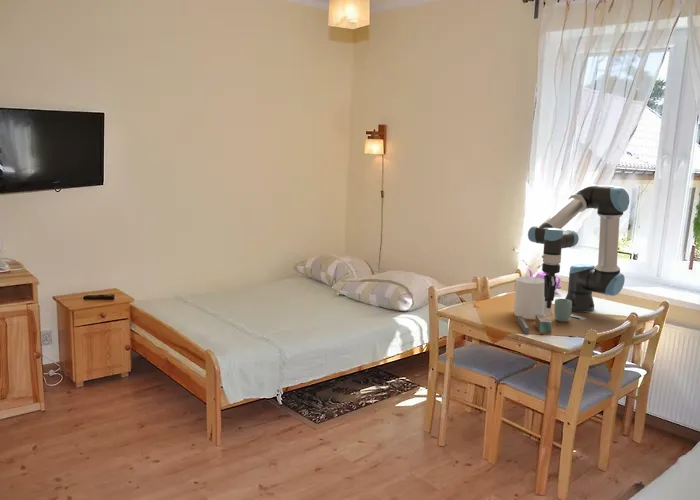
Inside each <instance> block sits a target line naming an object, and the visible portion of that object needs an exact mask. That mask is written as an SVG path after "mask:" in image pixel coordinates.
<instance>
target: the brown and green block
mask: <svg viewBox="0 0 700 500" xmlns="http://www.w3.org/2000/svg"><path fill="white" fill-rule="evenodd" d="M534 325H535V327H536V329H537V330H538V331H539V333H548V334H549V333H550V334H552V325H553V321H551V319H550V318H549V316H548V315H545V314H544V315H536V316H535V319H534Z"/></svg>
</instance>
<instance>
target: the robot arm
mask: <svg viewBox="0 0 700 500" xmlns="http://www.w3.org/2000/svg"><path fill="white" fill-rule="evenodd" d="M629 205H630V195H629V192H628V191H627V189H626V188H625V187H622V186H617V185H604V184H589V185H587V186H585V187H582V188H580V189H578V190H576V191H575V192H574V193H572V194H571V195H570V197H568V201H567V202H565V203H564V204H563V205H562V206H561V207H560V208H559V209H557V210H556V211H555V212H554V213H553V214H552V215H550V217H548V218H547V219H546V220H545V221H544V222H542V224H540V225H539V226H534V225H533V226H531V227H530V228H529V229H528V232H527V237H528V240H529V241H530V242H532V243H535V244H542V245H543V253H542V255H541V258H542V262H543V263H542V265H541V266H542V267H541V272H546V275H544V297H545V308H544V315H547V316H551V315H552V307H553V306H552V305H553V304H552V303H553V301H555V293H556V290H555V286H556V281H555V280H556V279H557V277H555V275H556V274H559V273H560V271H561V264H560V263H561V261H562V249H566V248H567V249H568V248H573V247H575V246H577V244H578V243H579V240H580V239H579V235H578V233H577V232H576V231H575V230H570V229H568V230H563V229H562V228H564V227H565V226H566V225H567V224H568V223H569V222H570V221H571V220H572V219H574V218H575V217H576V216H577V215H578V214H580V213H582V212H585V211H586V210H587V209H594V210H596V214H597V216H599V217H600V219H599V221H600V222H599V239H598V241H599V243H598V260H597V265H594V264H591V263H581V264H580V263H579V264H573V265H571V266H570V268H569V273H568V274H569V275H568V276H569V277H568V288H567V294H566V296H565V298H564V299H568V300H571V301H572V310H571V312H578V313H591V312H593V311H595V304H594V298H593V293H597V294H601V295H605V296H612V297H614V296H617V295H619V293H621V291H622V289H623V287H624V285H625V281H626V280H625V275H624V274H623V273H621V268H620V267H619V265H618V253H619V252H618V251H619V236H620V235H619V233H620V218H621V217H623V215H624V212H626V211H627V210H628V208H629Z"/></svg>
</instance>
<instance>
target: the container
mask: <svg viewBox="0 0 700 500" xmlns="http://www.w3.org/2000/svg"><path fill="white" fill-rule="evenodd" d="M514 289H515V291H514V292H515V293H514V304H513V305H514V307H513V315H514V316H516V317H518V316H522V318H523V319H528V320H535V316H536V315H545V314H544V308H545V297H544V279H542V278H537V277H535V276H533V277H530V276H519V277H516V278H515V288H514Z"/></svg>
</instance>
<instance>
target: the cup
mask: <svg viewBox="0 0 700 500" xmlns="http://www.w3.org/2000/svg"><path fill="white" fill-rule="evenodd" d="M553 307H554V308H553V315H554V318H555V320H556V321H557V322H562V323H563V322H564V323H566V322H568V321H569V320H571V319H570V318H571V316H572V311H571V310H572V301H571V300H568V299H565V298H556V299H555V298H554V306H553Z"/></svg>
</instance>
